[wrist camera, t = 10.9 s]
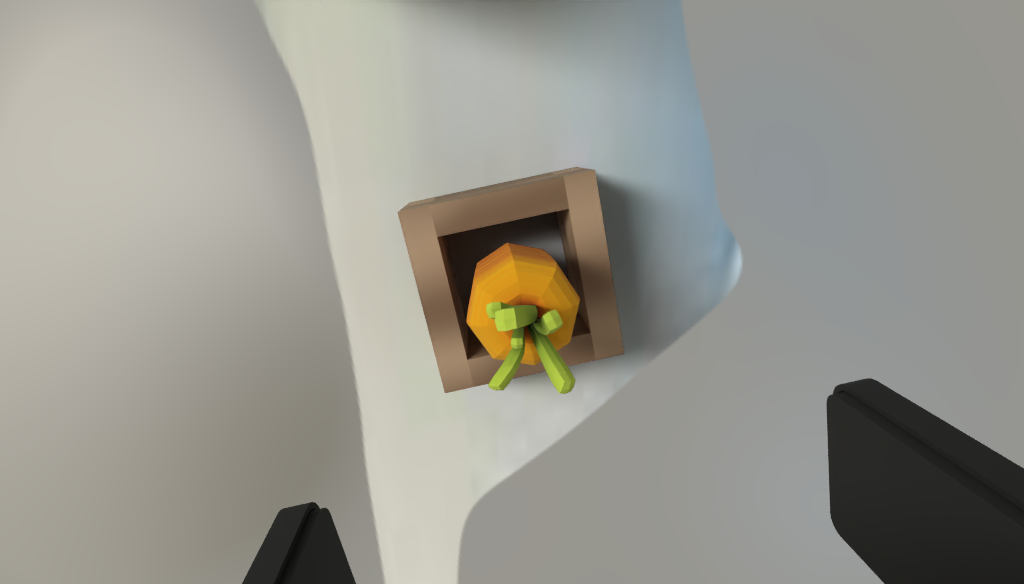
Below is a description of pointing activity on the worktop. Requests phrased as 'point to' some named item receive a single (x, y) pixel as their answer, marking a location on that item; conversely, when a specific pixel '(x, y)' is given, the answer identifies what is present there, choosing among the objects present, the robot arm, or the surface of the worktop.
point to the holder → (500, 203)
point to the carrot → (523, 312)
